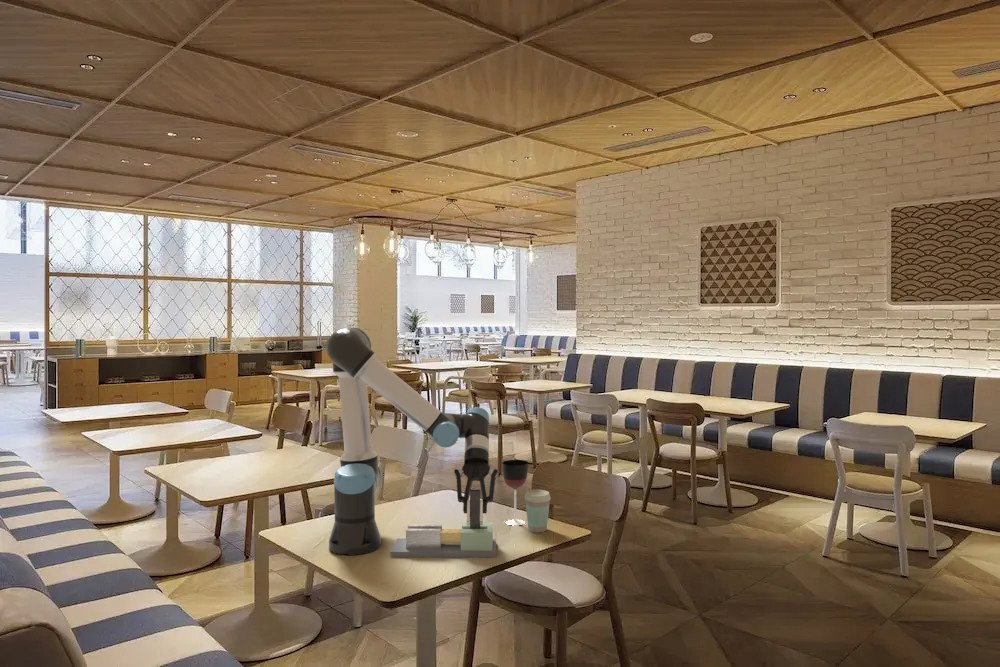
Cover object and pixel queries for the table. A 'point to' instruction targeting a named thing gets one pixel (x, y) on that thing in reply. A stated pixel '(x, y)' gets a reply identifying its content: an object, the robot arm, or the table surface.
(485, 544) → the socket block
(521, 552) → the table surface
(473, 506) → the sliding bolt with handle
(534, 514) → the coffee cup
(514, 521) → the wineglass
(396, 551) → the base board
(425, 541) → the steel sleeve
